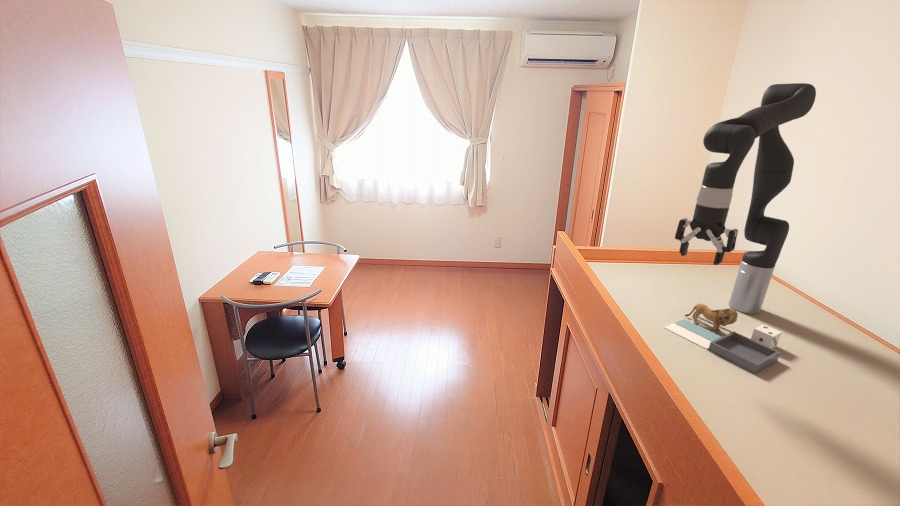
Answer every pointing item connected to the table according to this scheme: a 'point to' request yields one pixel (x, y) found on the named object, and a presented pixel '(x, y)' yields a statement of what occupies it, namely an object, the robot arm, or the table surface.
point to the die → (766, 336)
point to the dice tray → (744, 352)
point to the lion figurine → (715, 316)
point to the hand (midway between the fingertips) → (699, 259)
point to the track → (694, 332)
